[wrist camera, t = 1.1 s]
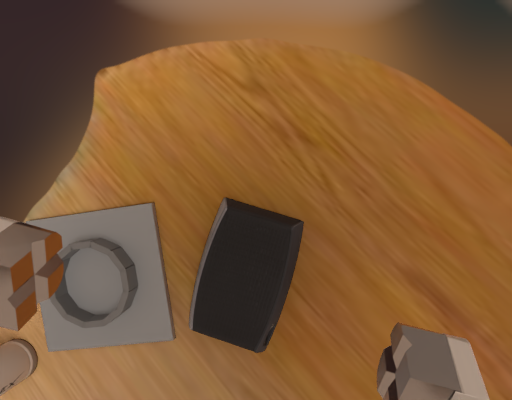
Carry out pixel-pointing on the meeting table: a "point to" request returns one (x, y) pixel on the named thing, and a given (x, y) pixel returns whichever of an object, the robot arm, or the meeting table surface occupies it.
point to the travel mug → (15, 363)
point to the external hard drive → (245, 275)
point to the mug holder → (108, 281)
